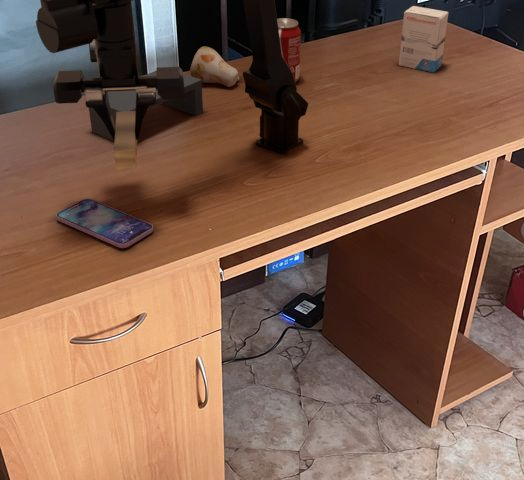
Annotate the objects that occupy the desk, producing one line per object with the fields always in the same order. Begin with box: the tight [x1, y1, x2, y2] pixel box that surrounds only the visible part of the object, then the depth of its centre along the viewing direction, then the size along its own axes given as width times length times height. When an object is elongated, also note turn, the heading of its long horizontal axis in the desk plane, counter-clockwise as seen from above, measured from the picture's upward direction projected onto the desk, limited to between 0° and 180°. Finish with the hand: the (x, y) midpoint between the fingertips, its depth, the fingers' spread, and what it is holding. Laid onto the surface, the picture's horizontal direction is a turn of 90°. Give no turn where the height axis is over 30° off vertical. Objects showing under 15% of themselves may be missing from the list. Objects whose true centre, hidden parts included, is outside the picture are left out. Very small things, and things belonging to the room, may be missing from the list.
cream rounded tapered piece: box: [189, 46, 240, 88], centre depth 164 cm, size 8×10×10 cm
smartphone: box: [55, 198, 154, 249], centre depth 122 cm, size 7×1×15 cm
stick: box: [113, 111, 138, 171], centre depth 121 cm, size 14×3×3 cm, turn 7°
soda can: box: [277, 17, 302, 83], centre depth 163 cm, size 7×7×12 cm
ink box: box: [398, 5, 449, 73], centre depth 170 cm, size 9×5×12 cm, turn 58°
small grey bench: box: [88, 70, 204, 143], centre depth 149 cm, size 10×20×7 cm, turn 141°
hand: (126, 139), depth 121 cm, fingers closed on stick, 3 cm apart
